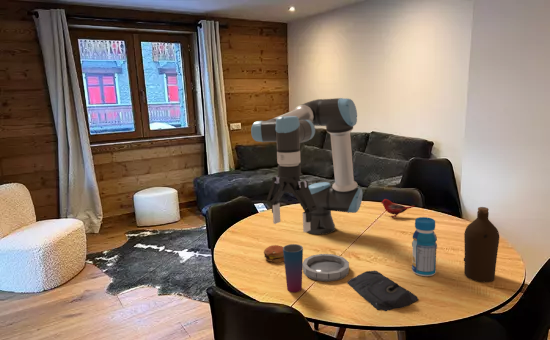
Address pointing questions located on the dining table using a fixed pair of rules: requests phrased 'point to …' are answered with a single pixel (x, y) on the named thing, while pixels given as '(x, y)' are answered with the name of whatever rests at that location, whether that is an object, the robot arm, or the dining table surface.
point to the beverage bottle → (424, 247)
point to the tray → (325, 267)
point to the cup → (293, 266)
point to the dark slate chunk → (381, 291)
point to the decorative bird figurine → (394, 207)
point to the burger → (274, 253)
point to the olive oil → (481, 248)
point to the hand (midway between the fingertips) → (291, 226)
